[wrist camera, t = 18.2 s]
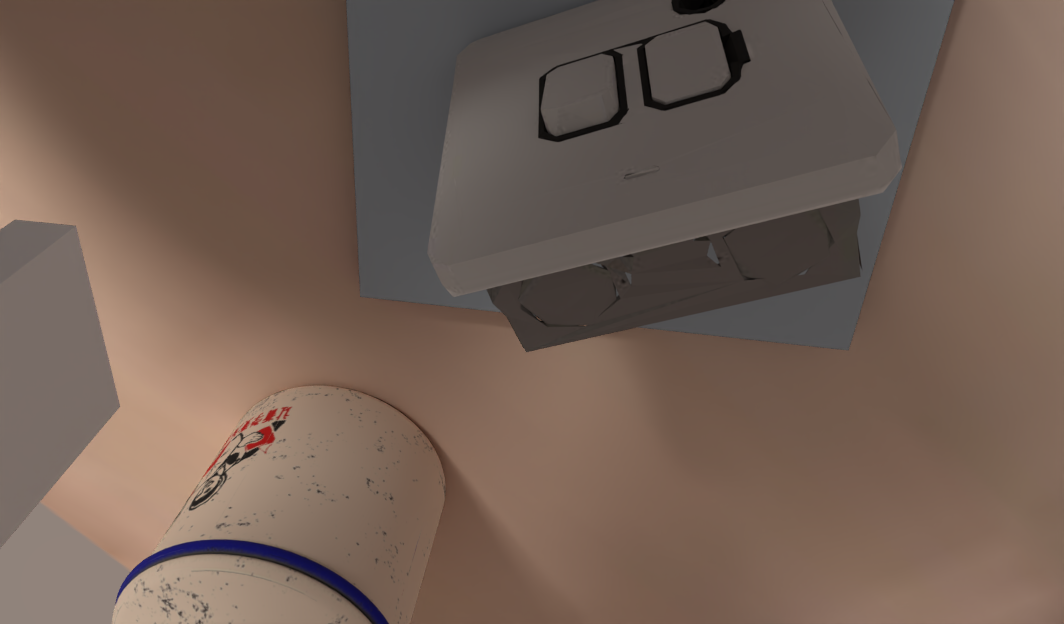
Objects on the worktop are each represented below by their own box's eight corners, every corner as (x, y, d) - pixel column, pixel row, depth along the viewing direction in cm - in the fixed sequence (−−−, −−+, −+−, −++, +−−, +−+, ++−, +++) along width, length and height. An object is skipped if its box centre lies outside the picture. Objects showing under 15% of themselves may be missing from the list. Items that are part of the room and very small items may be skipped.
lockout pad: (368, 282, 29) (360, 296, 28) (345, -286, 21) (332, -291, 20) (842, 334, 28) (848, 350, 27) (1011, -242, 20) (1028, -245, 19)
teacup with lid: (265, 336, 31) (85, 587, 21) (491, 439, 32) (424, 722, 22) (187, 540, 37) (17, 812, 27) (380, 620, 38) (287, 909, 28)
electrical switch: (799, -71, 21) (900, 52, 14) (828, 115, 24) (925, 303, 17) (457, 41, 24) (383, 199, 16) (518, 199, 26) (479, 397, 19)
